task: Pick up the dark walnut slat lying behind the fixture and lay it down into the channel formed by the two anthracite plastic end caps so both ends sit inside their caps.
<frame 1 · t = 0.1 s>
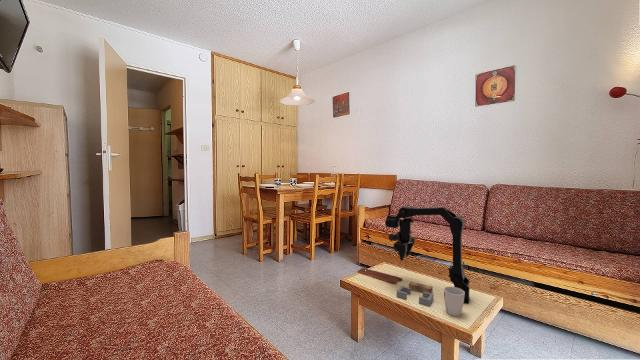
hand: (404, 258, 144), 14 cm above the table, fingers open, 9 cm apart
end cap a: (428, 302, 125), on the table
end cap b: (401, 294, 133), on the table
cup: (453, 313, 116), on the table
wooden tablet: (378, 276, 157), on the table
slat: (420, 291, 137), on the table
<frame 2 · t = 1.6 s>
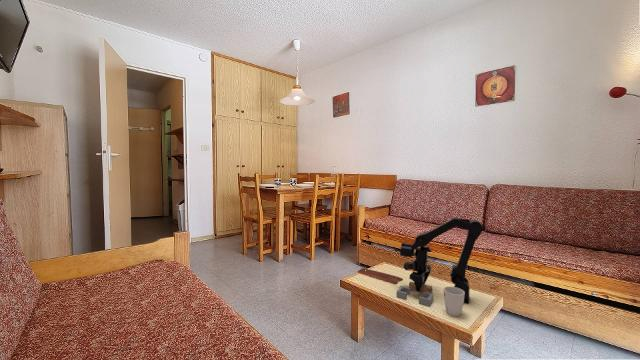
hand: (420, 288, 137), 1 cm above the table, fingers open, 9 cm apart
nothing on the table moved.
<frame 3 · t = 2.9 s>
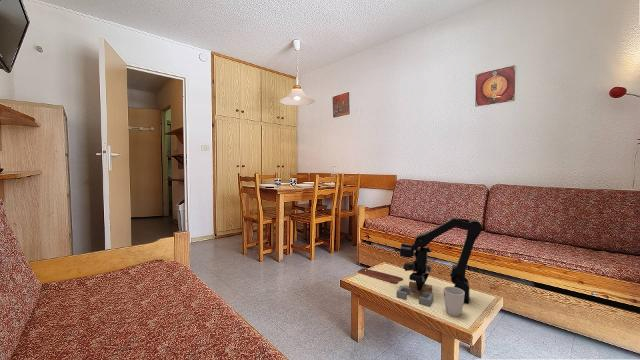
hand: (420, 289, 137), 1 cm above the table, fingers closed on slat, 4 cm apart
slat: (420, 291, 137), on the table, touching gripper
everything else where it was.
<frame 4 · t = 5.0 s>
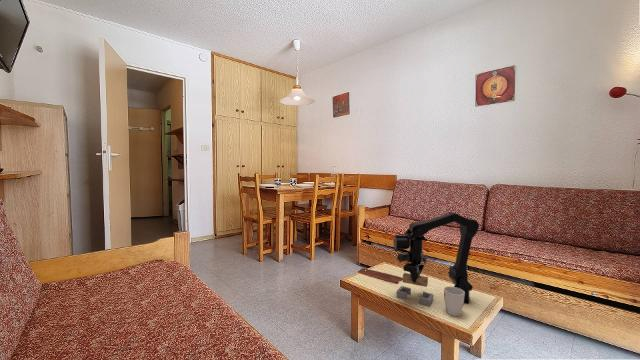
hand: (415, 281, 129), 9 cm above the table, fingers closed on slat, 4 cm apart
slat: (415, 283, 129), point 8 cm above the table, touching gripper
everything else where it was.
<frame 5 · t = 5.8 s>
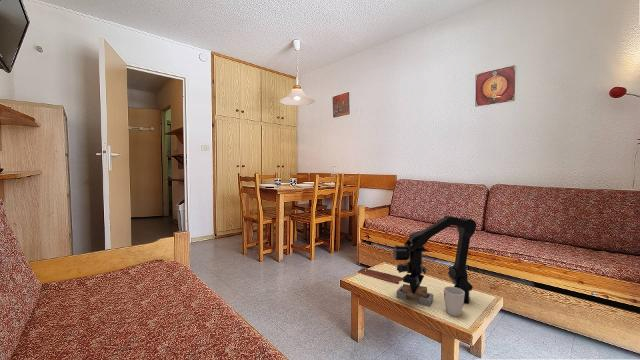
hand: (414, 291, 129), 3 cm above the table, fingers closed on slat, 4 cm apart
slat: (414, 294, 129), point 2 cm above the table, tilted 6°, touching gripper
everything else where it was.
when the fingers open (2 cm above the table, at t = 6.7 s): slat drops 2 cm, on the table.
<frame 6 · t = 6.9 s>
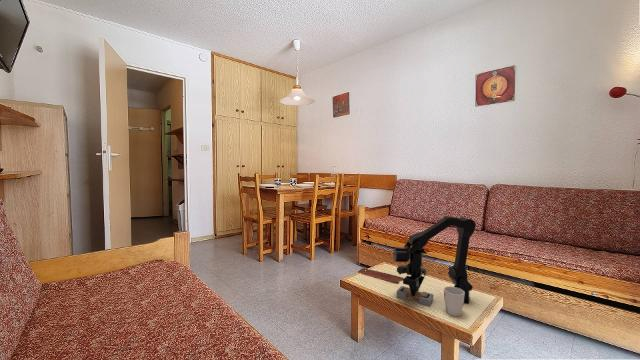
hand: (414, 293, 129), 2 cm above the table, fingers open, 6 cm apart
slat: (414, 299, 129), on the table
everything else where it was.
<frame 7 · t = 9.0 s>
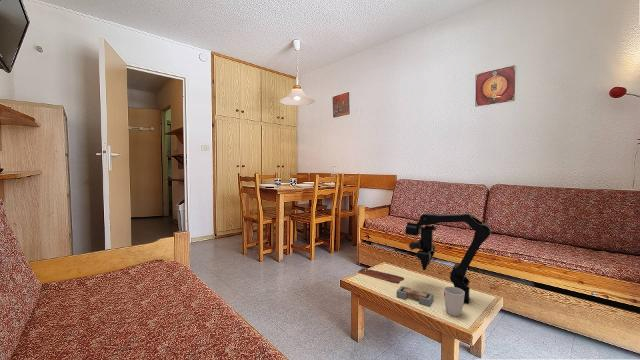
hand: (426, 267, 138), 12 cm above the table, fingers open, 9 cm apart
nothing on the table moved.
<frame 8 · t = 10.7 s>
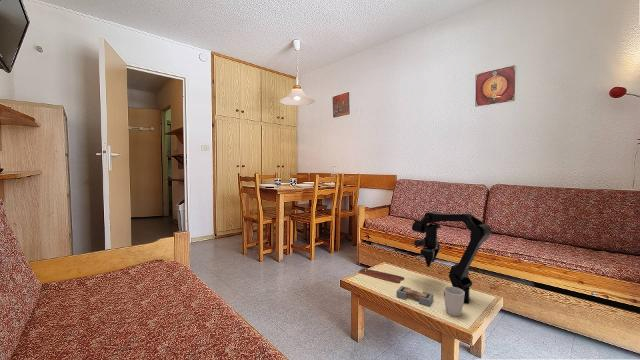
hand: (430, 264, 142), 12 cm above the table, fingers open, 9 cm apart
at the end: slat 0.2 cm from the target spot, on the table; slat tilted 0°; the gripper is holding nothing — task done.
